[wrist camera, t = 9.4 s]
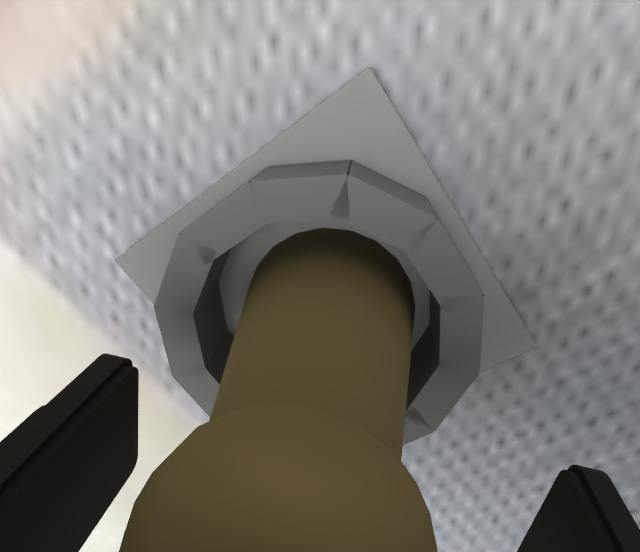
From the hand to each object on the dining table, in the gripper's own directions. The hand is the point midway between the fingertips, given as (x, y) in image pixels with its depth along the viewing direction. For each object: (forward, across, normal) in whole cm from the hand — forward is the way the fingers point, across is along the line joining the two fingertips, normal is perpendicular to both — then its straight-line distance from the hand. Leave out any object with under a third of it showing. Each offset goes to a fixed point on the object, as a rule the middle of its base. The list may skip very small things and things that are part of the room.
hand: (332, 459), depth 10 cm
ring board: (+8, +1, 0) cm, 8 cm away
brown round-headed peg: (+7, +1, 0) cm, 7 cm away
